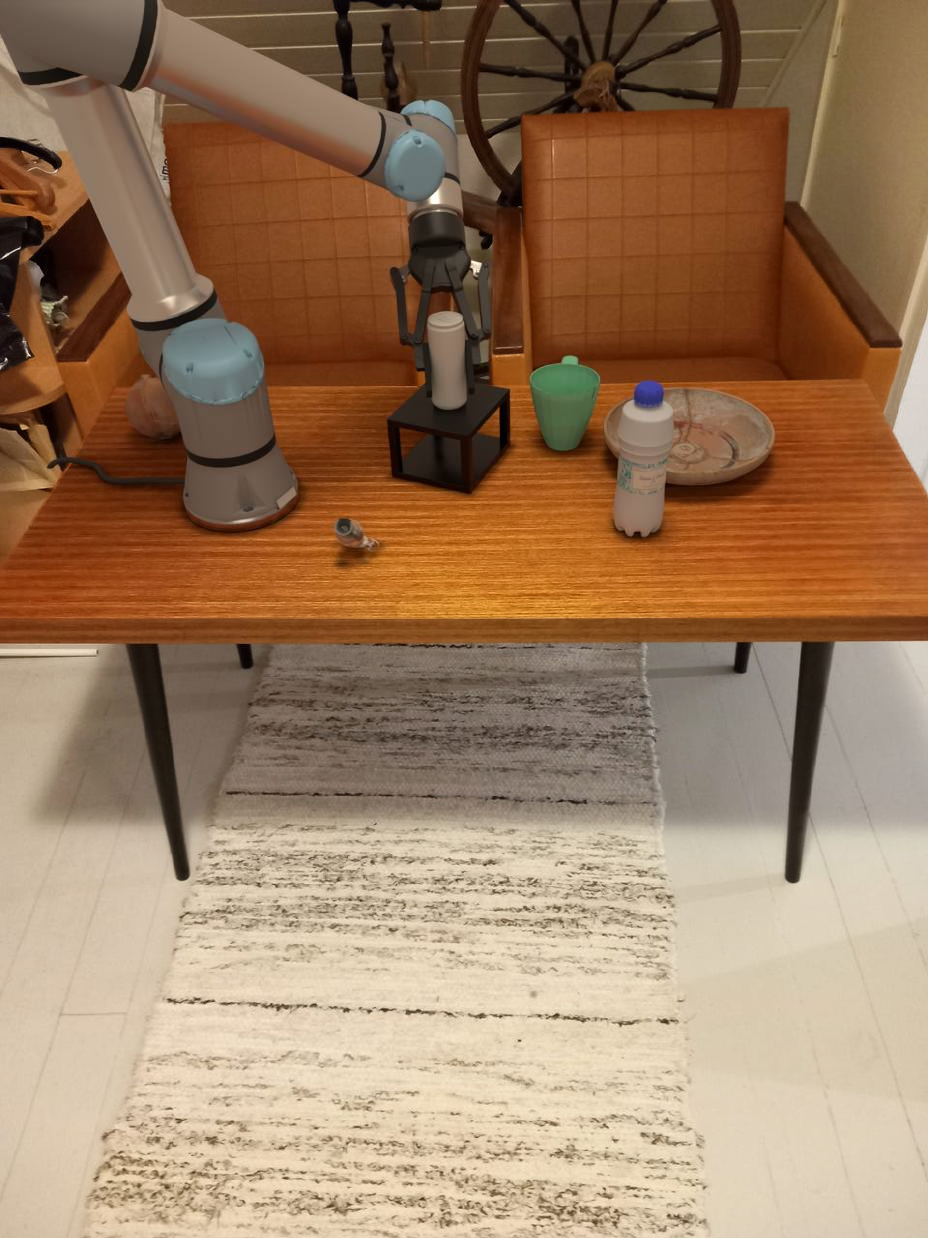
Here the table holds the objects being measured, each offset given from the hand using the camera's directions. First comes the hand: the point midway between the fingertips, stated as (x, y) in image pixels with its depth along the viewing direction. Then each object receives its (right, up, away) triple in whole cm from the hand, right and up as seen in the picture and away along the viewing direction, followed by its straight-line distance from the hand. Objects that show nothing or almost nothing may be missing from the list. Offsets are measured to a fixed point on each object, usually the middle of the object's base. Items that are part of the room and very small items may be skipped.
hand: (450, 392), depth 129 cm
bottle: (+24, -18, -3) cm, 30 cm away
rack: (0, -7, +11) cm, 13 cm away
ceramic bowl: (+33, -7, +10) cm, 35 cm away
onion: (-44, -2, +20) cm, 48 cm away
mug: (+16, -3, +16) cm, 23 cm away
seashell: (-12, -22, -5) cm, 26 cm away
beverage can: (0, 0, +5) cm, 5 cm away
